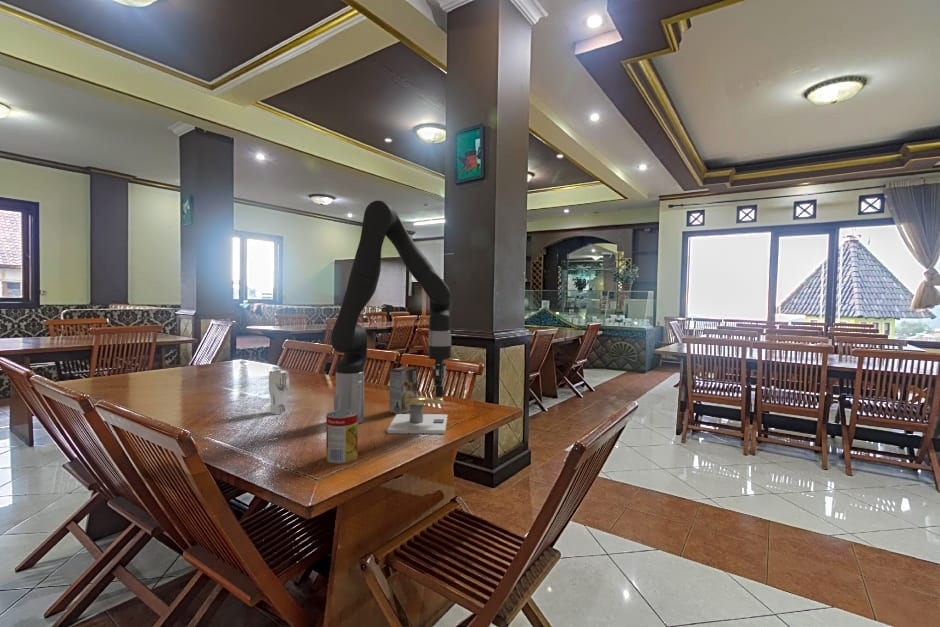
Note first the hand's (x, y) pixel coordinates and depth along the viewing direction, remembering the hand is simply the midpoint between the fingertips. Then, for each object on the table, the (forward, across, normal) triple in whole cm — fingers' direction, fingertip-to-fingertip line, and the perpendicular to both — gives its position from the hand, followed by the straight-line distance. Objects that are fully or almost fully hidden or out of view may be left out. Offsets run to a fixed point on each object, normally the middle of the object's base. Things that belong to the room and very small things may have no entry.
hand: (439, 395), depth 143 cm
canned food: (+11, -30, +22) cm, 39 cm away
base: (+10, +1, +8) cm, 13 cm away
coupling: (+3, 0, +5) cm, 6 cm away
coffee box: (+10, +18, +16) cm, 26 cm away
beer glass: (+10, +12, +60) cm, 63 cm away
